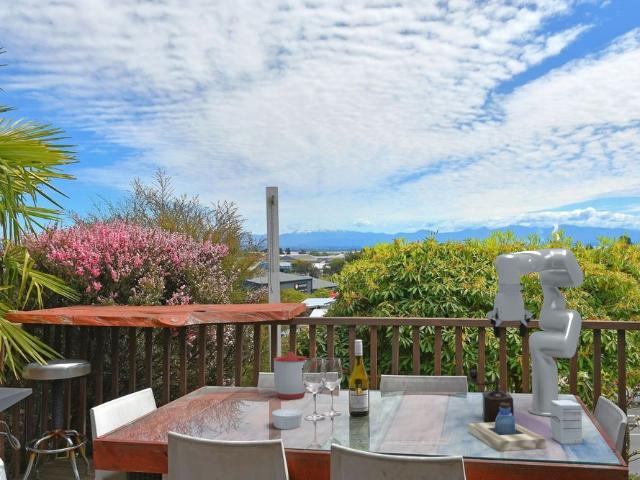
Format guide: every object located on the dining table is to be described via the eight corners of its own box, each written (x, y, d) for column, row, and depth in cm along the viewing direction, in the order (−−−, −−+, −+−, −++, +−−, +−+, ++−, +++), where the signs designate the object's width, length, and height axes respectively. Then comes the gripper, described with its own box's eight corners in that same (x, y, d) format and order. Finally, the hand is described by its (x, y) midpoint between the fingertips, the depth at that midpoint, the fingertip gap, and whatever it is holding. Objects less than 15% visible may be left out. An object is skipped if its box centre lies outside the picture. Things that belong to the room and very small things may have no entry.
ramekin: (279, 432, 215) (279, 417, 215) (266, 424, 225) (266, 410, 225) (307, 428, 220) (307, 413, 221) (294, 421, 230) (294, 406, 231)
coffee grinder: (509, 417, 234) (509, 369, 235) (514, 424, 223) (513, 374, 224) (468, 415, 237) (467, 368, 237) (470, 423, 226) (470, 373, 226)
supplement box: (550, 438, 206) (549, 400, 207) (571, 437, 207) (571, 399, 207) (561, 444, 199) (560, 405, 199) (582, 443, 200) (582, 404, 200)
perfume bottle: (515, 438, 206) (514, 402, 207) (515, 443, 200) (514, 406, 201) (496, 436, 208) (495, 401, 209) (495, 441, 202) (494, 405, 203)
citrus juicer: (312, 400, 264) (311, 353, 264) (271, 400, 264) (271, 354, 265) (313, 393, 279) (312, 348, 280) (274, 393, 280) (274, 348, 280)
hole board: (511, 429, 216) (511, 421, 217) (545, 448, 195) (545, 438, 195) (469, 432, 213) (468, 423, 214) (498, 451, 192) (498, 441, 192)
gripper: (525, 288, 226) (526, 335, 225) (482, 289, 222) (482, 336, 222) (536, 289, 218) (537, 337, 218) (491, 290, 215) (492, 339, 214)
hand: (509, 337), depth 220 cm, fingers open, 9 cm apart
